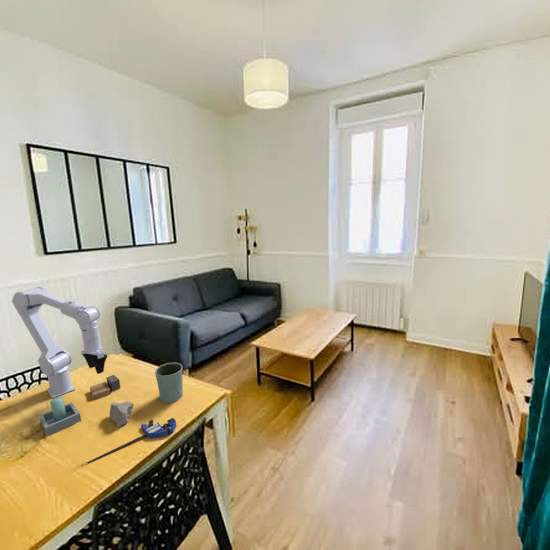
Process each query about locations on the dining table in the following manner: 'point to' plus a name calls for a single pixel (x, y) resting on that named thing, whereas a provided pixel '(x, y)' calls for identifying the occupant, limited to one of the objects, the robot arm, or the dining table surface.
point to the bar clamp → (147, 434)
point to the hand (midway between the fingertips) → (96, 369)
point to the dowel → (58, 409)
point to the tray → (52, 427)
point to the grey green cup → (169, 382)
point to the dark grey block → (113, 382)
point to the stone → (120, 412)
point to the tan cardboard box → (100, 390)
